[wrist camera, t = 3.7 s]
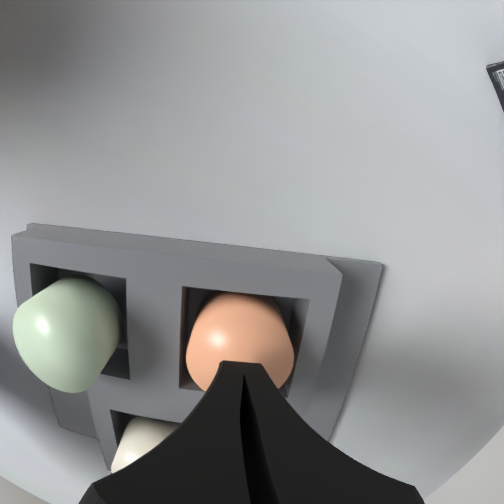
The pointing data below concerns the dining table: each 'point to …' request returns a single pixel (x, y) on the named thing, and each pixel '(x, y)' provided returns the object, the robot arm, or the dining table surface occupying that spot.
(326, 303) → the panel
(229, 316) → the peach rounded dome
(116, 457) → the cream button
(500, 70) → the small box
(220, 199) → the dining table surface
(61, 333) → the sage button
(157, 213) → the dining table surface
